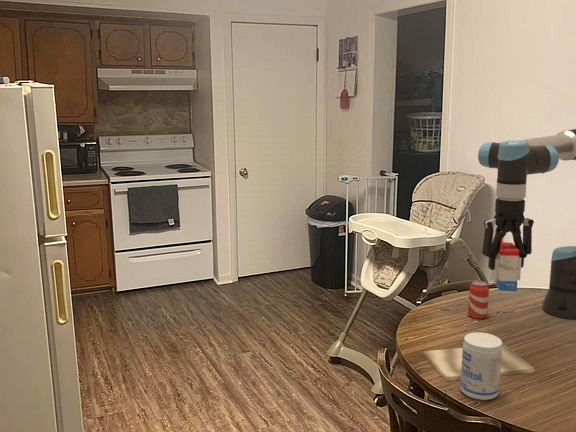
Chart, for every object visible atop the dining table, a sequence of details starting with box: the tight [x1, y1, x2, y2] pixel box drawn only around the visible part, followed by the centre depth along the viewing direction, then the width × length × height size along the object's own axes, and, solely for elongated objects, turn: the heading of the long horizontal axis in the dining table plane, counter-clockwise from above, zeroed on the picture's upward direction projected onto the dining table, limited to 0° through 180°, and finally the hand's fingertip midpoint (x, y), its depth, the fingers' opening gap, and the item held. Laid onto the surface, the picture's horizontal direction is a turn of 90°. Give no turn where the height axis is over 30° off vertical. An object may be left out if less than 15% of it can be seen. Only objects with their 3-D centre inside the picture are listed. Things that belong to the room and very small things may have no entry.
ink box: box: [492, 238, 519, 292], centre depth 161 cm, size 8×5×15 cm, turn 172°
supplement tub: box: [459, 332, 503, 401], centre depth 149 cm, size 10×10×15 cm
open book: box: [422, 343, 536, 382], centre depth 166 cm, size 26×16×2 cm, turn 99°
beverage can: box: [467, 280, 490, 320], centre depth 199 cm, size 6×6×12 cm
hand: (505, 279), depth 162 cm, fingers closed on ink box, 6 cm apart
